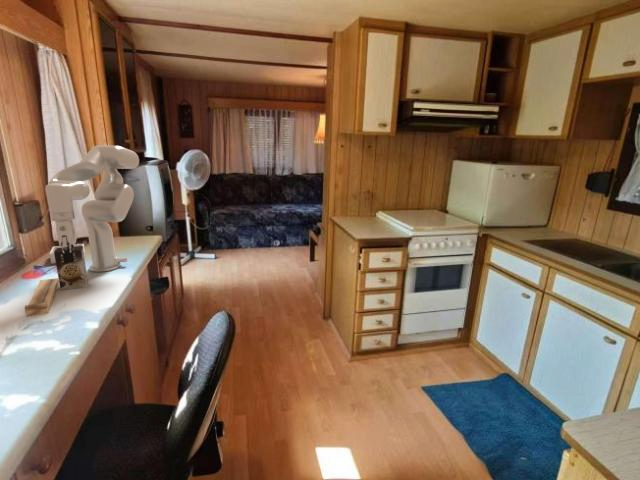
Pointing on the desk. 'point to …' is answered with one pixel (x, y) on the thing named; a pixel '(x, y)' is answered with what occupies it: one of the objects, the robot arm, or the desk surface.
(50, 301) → the oak board
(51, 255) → the parts corral
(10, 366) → the desk surface
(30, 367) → the desk surface
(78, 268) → the coffee box
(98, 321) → the desk surface
